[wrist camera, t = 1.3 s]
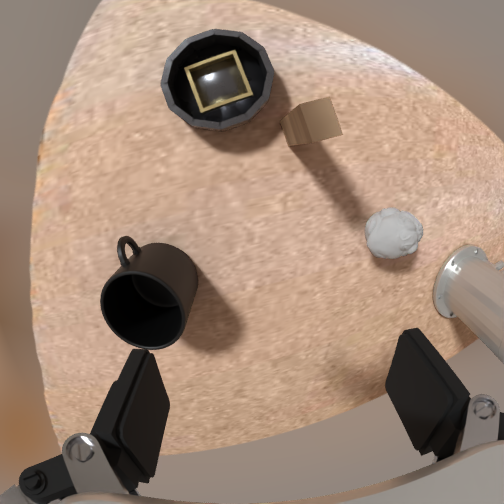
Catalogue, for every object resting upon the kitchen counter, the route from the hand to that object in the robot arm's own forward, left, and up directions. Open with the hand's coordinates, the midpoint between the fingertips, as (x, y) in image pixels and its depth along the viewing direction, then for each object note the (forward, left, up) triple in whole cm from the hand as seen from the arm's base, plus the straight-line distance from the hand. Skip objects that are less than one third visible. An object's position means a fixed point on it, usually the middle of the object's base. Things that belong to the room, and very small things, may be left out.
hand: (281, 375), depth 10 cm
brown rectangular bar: (-7, -8, -25) cm, 27 cm away
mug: (+14, +2, -25) cm, 29 cm away
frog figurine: (-14, +6, -25) cm, 29 cm away
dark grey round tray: (-1, -16, -25) cm, 30 cm away
